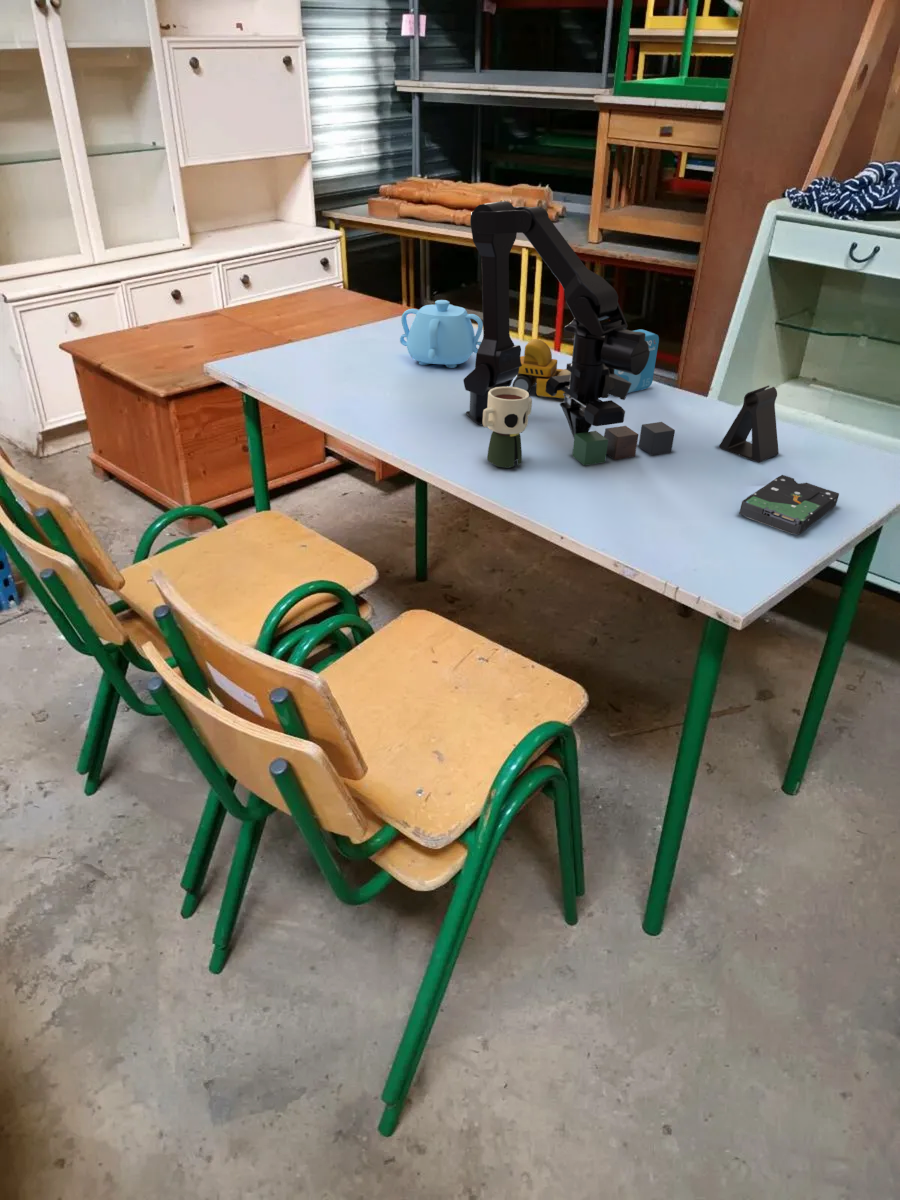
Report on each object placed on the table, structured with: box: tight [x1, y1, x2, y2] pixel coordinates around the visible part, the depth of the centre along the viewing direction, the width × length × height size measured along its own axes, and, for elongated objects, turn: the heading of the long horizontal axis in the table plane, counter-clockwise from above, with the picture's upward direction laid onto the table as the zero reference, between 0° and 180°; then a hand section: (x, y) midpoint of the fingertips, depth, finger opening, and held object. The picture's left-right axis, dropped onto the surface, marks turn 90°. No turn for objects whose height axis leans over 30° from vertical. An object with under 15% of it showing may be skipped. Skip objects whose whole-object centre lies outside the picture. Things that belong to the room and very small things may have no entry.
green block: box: [571, 430, 608, 466], centre depth 158 cm, size 4×4×4 cm
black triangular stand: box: [718, 385, 780, 463], centre depth 161 cm, size 9×6×12 cm, turn 40°
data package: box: [614, 328, 660, 394], centre depth 188 cm, size 12×4×12 cm, turn 123°
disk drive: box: [738, 474, 840, 536], centre depth 143 cm, size 10×3×15 cm
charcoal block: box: [638, 421, 676, 456], centre depth 163 cm, size 4×4×4 cm
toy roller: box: [512, 338, 571, 400], centre depth 186 cm, size 9×14×10 cm, turn 71°
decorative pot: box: [399, 299, 483, 369], centre depth 201 cm, size 16×16×14 cm
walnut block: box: [603, 425, 639, 461], centre depth 160 cm, size 4×4×4 cm
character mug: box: [482, 386, 533, 468], centre depth 153 cm, size 11×7×13 cm, turn 128°
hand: (578, 443), depth 162 cm, fingers closed
